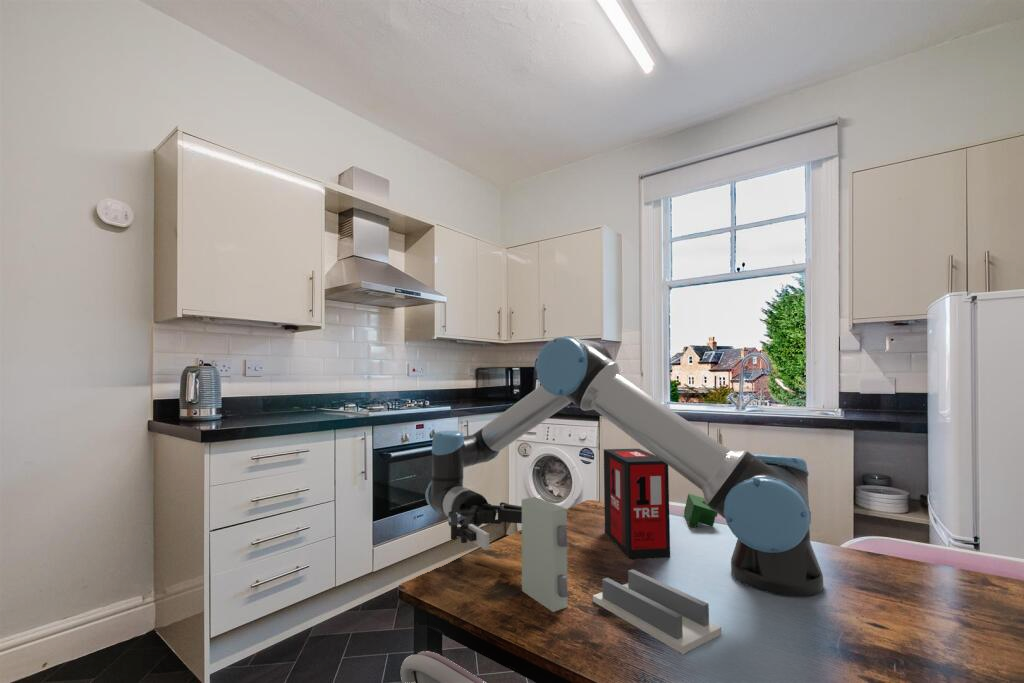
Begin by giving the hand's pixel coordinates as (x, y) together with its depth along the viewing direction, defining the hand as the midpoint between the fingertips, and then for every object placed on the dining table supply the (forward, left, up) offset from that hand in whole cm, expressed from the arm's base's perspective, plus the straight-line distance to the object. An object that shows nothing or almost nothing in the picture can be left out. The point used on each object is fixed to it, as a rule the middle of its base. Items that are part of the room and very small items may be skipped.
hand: (519, 534), depth 88 cm
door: (-6, +4, -9) cm, 11 cm away
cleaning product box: (-20, -27, -9) cm, 34 cm away
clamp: (-35, -48, -9) cm, 60 cm away
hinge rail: (-24, +5, -9) cm, 26 cm away
